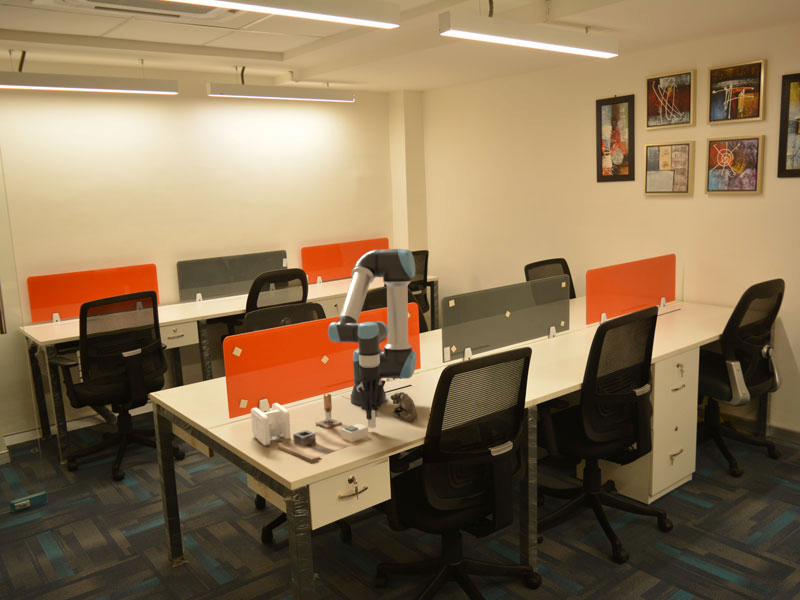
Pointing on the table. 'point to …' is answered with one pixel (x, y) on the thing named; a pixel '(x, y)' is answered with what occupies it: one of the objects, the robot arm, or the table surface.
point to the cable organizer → (270, 423)
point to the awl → (328, 408)
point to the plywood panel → (318, 443)
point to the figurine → (404, 407)
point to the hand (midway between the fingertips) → (372, 427)
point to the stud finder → (354, 432)
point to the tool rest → (327, 426)
